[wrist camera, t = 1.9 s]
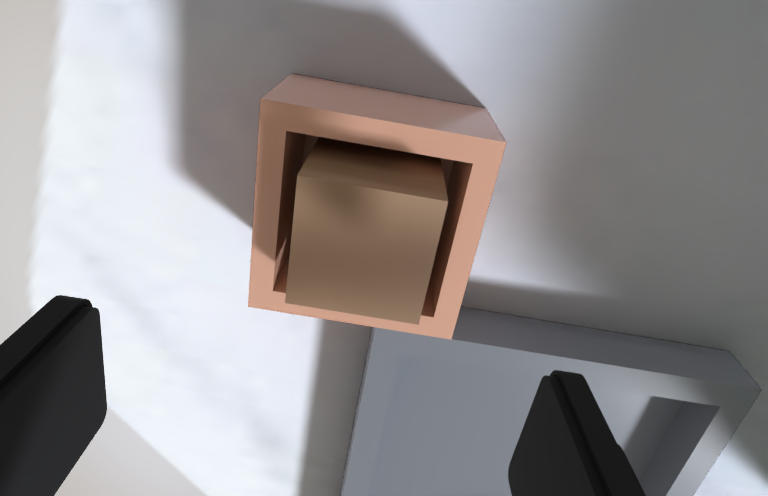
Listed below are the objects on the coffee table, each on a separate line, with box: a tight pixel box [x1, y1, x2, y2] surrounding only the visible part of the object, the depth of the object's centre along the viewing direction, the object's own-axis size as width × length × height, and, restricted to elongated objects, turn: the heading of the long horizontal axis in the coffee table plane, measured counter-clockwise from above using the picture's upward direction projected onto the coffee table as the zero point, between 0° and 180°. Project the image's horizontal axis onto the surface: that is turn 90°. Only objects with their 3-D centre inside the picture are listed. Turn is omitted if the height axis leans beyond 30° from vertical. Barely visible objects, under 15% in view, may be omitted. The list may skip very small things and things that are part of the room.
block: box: [285, 137, 448, 325], centre depth 18 cm, size 4×4×6 cm
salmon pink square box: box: [248, 73, 507, 340], centre depth 19 cm, size 7×7×4 cm
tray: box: [340, 307, 762, 496], centre depth 26 cm, size 18×16×2 cm
